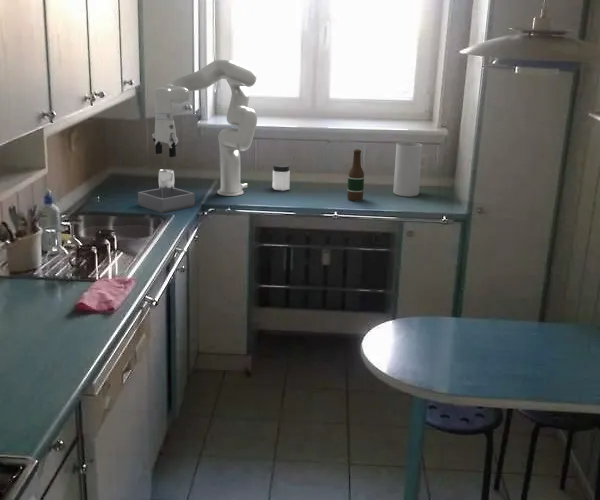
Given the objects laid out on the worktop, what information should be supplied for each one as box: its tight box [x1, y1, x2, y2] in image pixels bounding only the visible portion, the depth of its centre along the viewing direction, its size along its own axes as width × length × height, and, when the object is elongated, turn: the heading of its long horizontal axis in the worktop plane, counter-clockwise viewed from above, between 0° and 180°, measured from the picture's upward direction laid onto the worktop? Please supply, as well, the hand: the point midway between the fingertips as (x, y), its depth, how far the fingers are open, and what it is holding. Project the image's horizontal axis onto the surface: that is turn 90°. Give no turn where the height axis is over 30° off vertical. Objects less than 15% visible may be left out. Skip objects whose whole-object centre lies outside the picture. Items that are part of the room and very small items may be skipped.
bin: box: [137, 187, 196, 214], centre depth 343 cm, size 18×18×6 cm
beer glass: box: [158, 168, 175, 199], centre depth 341 cm, size 7×7×15 cm
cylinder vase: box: [392, 141, 423, 198], centre depth 375 cm, size 12×12×25 cm
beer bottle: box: [346, 149, 365, 202], centre depth 361 cm, size 8×8×24 cm
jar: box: [272, 163, 291, 191], centre depth 381 cm, size 9×8×12 cm
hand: (165, 155), depth 337 cm, fingers open, 9 cm apart
